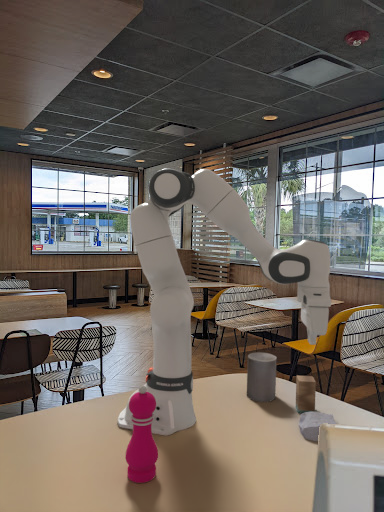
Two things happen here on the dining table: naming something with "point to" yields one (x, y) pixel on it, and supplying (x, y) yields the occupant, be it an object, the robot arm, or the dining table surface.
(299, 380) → the walnut block
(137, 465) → the pepper mill
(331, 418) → the stone block
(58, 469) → the dining table surface
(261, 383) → the pillar candle
